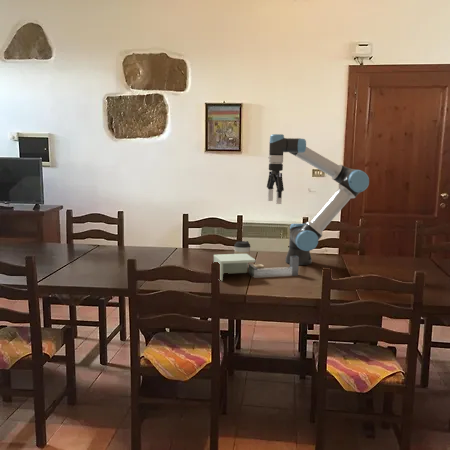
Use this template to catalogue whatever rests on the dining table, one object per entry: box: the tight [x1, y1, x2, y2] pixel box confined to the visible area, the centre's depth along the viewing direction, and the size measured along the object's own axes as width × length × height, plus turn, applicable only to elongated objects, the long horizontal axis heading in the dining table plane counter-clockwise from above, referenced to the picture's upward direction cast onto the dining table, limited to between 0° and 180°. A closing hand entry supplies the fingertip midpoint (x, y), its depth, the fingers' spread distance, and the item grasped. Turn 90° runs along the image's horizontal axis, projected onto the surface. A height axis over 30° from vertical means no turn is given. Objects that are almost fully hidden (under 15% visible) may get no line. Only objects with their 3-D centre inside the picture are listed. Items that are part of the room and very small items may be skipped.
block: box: [252, 263, 265, 268], centre depth 272 cm, size 5×5×5 cm
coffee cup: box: [233, 240, 251, 270], centre depth 283 cm, size 9×9×15 cm
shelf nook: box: [213, 253, 256, 282], centre depth 265 cm, size 18×15×10 cm
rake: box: [248, 256, 300, 279], centre depth 271 cm, size 24×9×10 cm, turn 105°
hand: (274, 202), depth 280 cm, fingers open, 13 cm apart
